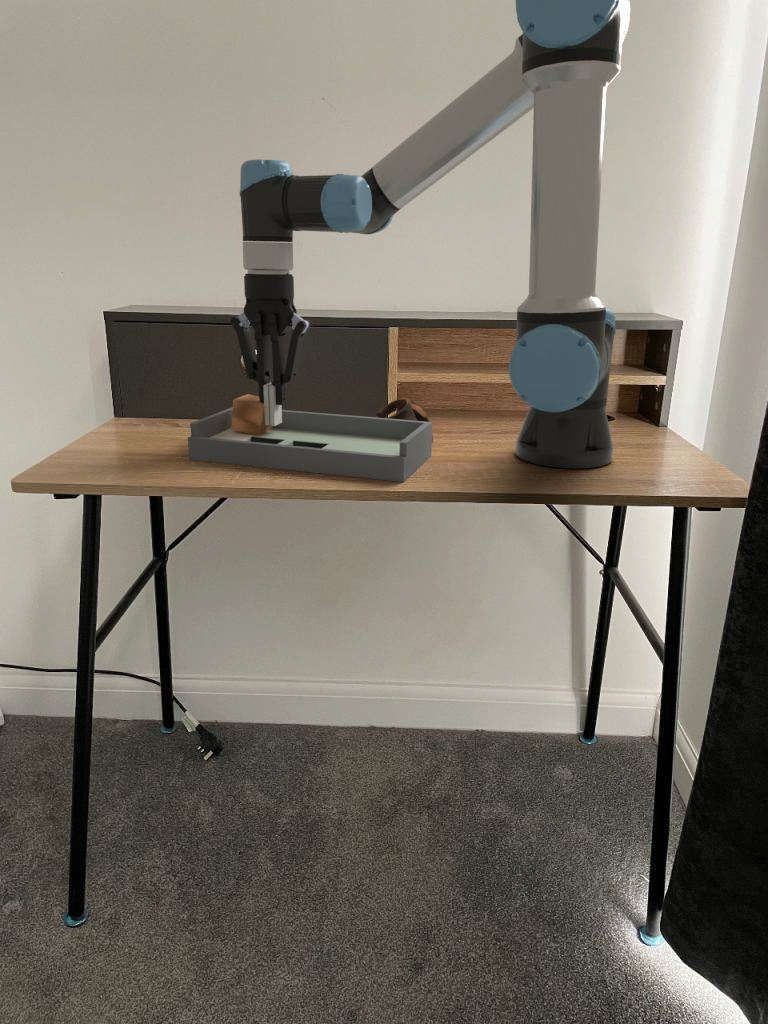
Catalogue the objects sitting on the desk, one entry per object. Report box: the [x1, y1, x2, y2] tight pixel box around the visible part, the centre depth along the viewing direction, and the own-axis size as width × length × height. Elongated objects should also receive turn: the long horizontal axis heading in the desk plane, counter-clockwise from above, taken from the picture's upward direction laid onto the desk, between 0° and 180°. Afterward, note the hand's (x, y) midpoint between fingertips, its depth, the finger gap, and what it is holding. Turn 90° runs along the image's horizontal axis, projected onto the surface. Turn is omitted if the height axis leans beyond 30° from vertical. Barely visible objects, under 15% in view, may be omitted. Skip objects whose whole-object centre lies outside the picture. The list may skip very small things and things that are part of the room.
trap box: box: [187, 406, 433, 483], centre depth 116 cm, size 35×15×6 cm, turn 71°
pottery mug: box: [375, 397, 434, 443], centre depth 128 cm, size 12×10×8 cm
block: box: [231, 393, 273, 436], centre depth 122 cm, size 5×5×5 cm
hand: (273, 423), depth 121 cm, fingers closed
